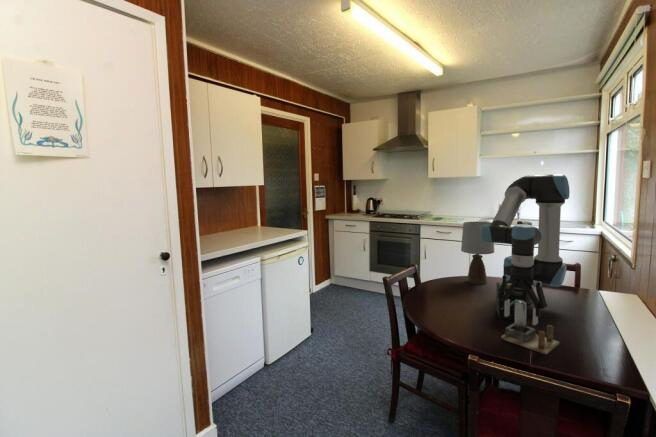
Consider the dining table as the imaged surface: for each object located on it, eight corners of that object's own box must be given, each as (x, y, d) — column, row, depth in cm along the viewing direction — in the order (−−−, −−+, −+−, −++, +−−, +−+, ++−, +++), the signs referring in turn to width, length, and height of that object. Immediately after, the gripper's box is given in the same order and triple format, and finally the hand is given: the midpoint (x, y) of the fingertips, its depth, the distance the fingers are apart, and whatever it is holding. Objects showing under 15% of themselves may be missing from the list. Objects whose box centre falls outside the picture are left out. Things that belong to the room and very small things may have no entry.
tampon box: (521, 313, 154) (522, 283, 152) (526, 321, 145) (527, 289, 144) (495, 311, 157) (496, 281, 156) (498, 318, 149) (499, 287, 147)
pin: (512, 335, 130) (512, 301, 129) (517, 332, 133) (517, 299, 131) (523, 339, 127) (523, 304, 126) (527, 335, 130) (528, 301, 128)
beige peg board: (501, 338, 130) (501, 321, 129) (515, 329, 137) (515, 313, 136) (546, 354, 117) (547, 336, 117) (559, 344, 124) (560, 326, 124)
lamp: (500, 284, 197) (502, 223, 193) (475, 288, 191) (476, 226, 187) (478, 276, 214) (478, 220, 210) (454, 279, 209) (454, 222, 205)
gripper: (488, 261, 134) (487, 313, 136) (551, 272, 116) (548, 332, 118) (497, 258, 138) (496, 309, 141) (559, 268, 120) (557, 326, 122)
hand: (520, 319), depth 129 cm, fingers open, 10 cm apart
